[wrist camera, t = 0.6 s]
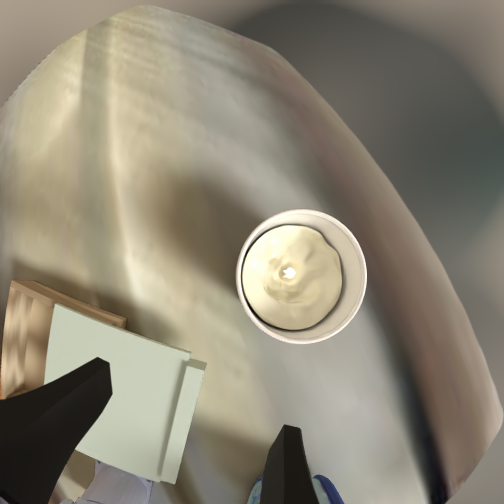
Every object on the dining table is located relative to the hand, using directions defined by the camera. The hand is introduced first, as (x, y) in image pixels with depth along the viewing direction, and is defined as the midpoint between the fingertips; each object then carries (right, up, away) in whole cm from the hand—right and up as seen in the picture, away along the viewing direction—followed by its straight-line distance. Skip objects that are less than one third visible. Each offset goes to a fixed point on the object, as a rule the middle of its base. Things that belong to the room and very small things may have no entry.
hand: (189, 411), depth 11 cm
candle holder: (+5, +3, +23) cm, 24 cm away
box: (-20, -7, +20) cm, 29 cm away
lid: (-12, -9, +16) cm, 22 cm away
